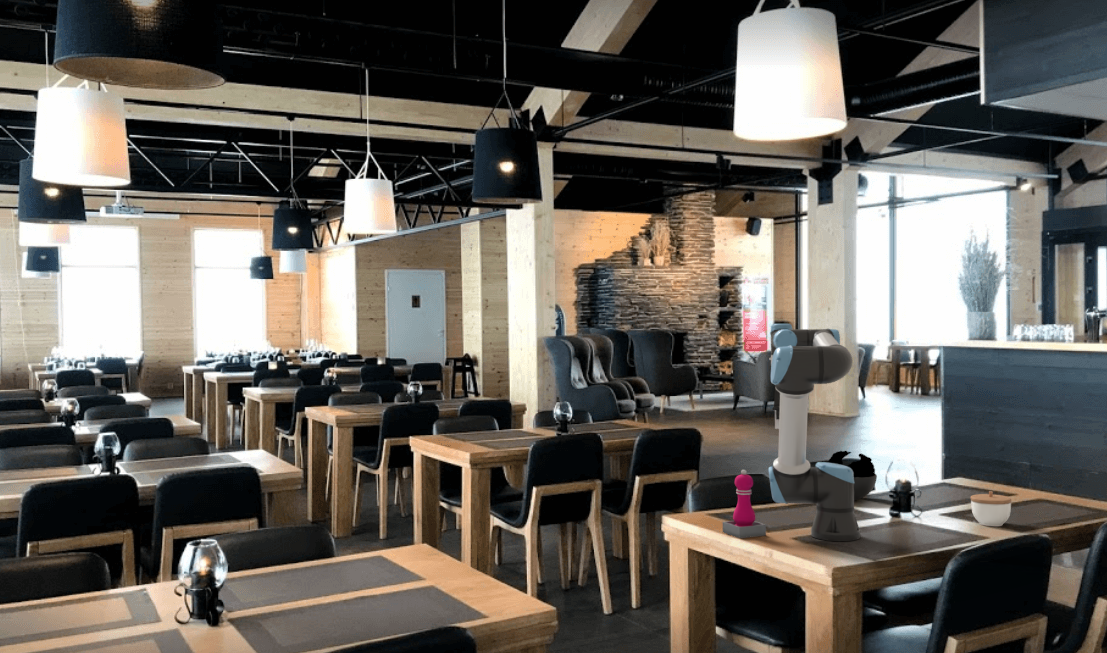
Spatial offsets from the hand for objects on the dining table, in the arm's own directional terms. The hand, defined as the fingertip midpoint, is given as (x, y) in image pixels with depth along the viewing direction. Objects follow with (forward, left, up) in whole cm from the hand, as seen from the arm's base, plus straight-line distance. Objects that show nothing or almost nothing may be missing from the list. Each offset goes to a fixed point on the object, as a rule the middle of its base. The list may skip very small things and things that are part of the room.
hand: (782, 426), depth 355 cm
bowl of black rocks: (+15, -41, -32) cm, 54 cm away
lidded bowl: (-42, -54, -32) cm, 76 cm away
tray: (-19, +29, -32) cm, 47 cm away
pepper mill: (-19, +29, -31) cm, 46 cm away
